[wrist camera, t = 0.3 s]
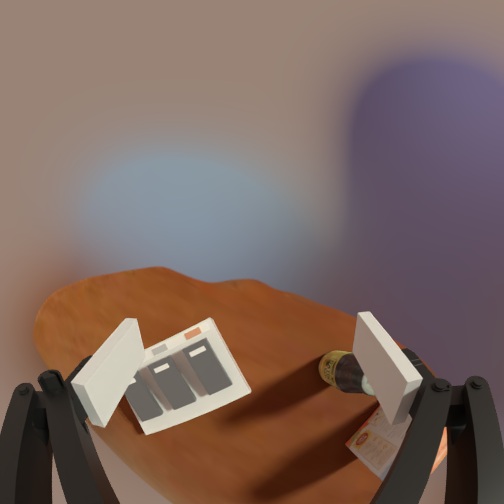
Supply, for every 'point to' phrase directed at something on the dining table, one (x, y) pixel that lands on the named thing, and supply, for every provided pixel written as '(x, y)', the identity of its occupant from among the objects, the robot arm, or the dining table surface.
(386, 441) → the cracker box
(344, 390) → the sauce bottle
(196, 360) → the switch
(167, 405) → the switch panel
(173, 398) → the switch middle
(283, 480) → the dining table surface
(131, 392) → the switch
